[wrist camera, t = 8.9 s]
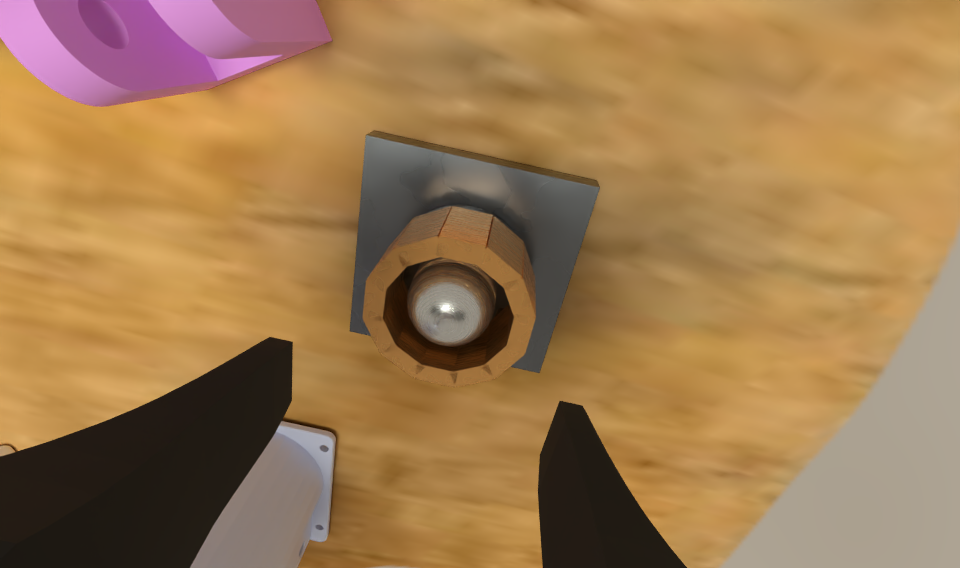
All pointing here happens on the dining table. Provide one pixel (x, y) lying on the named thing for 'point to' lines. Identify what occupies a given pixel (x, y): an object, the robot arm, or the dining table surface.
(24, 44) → the bracket
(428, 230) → the wooden ring
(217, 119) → the dining table surface
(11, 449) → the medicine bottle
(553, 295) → the stand
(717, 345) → the dining table surface
